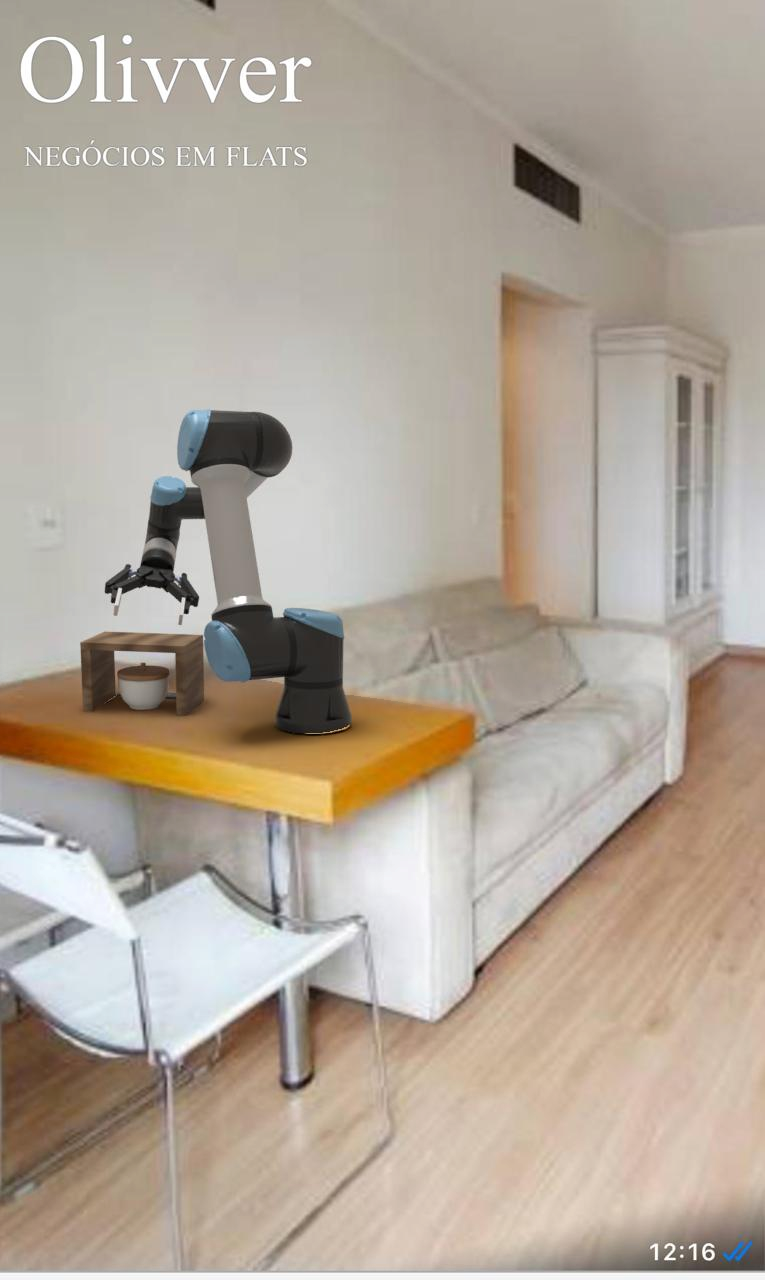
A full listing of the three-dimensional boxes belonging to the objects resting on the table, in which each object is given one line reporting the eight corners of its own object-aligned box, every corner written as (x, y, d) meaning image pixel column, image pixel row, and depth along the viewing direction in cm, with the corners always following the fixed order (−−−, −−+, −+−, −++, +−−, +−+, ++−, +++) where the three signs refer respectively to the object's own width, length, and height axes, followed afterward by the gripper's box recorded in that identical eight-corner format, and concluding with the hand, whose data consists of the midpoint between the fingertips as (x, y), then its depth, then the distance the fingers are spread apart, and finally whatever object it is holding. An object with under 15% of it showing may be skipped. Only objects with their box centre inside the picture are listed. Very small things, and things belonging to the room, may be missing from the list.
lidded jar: (157, 714, 198) (156, 669, 197) (109, 710, 200) (107, 666, 199) (178, 701, 209) (177, 659, 207) (132, 698, 211) (131, 656, 209)
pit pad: (200, 695, 214) (200, 693, 214) (195, 699, 211) (195, 698, 210) (122, 692, 216) (122, 690, 216) (115, 696, 212) (115, 694, 212)
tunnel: (204, 700, 210) (203, 635, 208) (186, 715, 198) (184, 646, 195) (107, 696, 212) (104, 631, 210) (83, 710, 200) (80, 642, 197)
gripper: (210, 583, 227) (204, 637, 210) (101, 566, 222) (87, 620, 205) (214, 556, 223) (209, 609, 206) (103, 538, 217) (89, 592, 201)
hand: (148, 615), depth 205 cm, fingers open, 13 cm apart
